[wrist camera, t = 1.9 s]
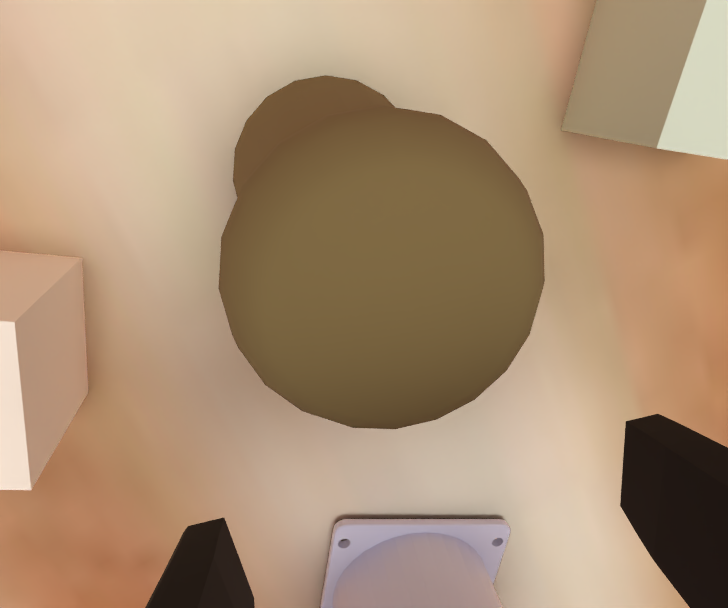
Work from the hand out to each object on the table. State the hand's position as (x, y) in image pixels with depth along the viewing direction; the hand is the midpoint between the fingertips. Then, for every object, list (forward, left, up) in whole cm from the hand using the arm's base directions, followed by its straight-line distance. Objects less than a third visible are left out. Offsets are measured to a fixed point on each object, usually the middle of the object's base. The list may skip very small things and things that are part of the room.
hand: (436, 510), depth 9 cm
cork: (+4, +1, -11) cm, 11 cm away
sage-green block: (+9, -9, -11) cm, 16 cm away
